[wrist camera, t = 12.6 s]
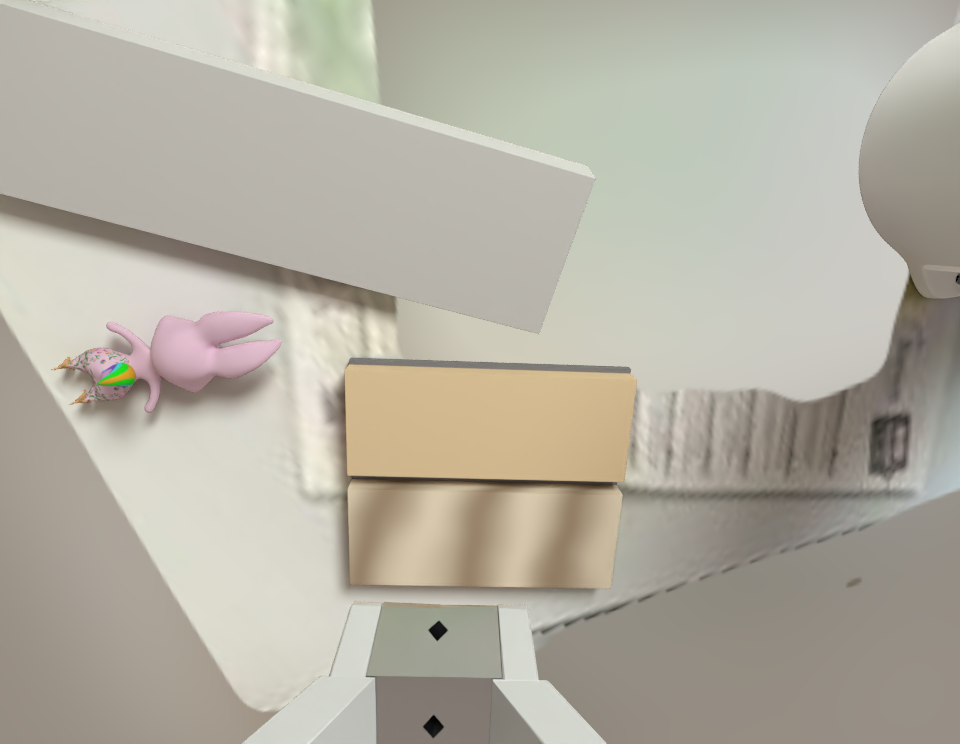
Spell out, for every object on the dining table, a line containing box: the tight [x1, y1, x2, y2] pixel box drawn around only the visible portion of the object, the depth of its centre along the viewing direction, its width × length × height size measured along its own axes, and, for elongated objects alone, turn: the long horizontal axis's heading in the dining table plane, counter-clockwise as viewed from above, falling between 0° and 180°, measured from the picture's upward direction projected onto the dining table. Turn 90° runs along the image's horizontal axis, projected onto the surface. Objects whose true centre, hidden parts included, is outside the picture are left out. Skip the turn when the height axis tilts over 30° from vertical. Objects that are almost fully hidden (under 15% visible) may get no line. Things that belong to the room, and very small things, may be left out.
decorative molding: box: [0, 0, 595, 334], centre depth 33 cm, size 34×5×10 cm
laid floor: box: [345, 358, 637, 485], centre depth 39 cm, size 19×17×2 cm
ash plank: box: [348, 479, 623, 589], centre depth 39 cm, size 19×8×2 cm, turn 88°
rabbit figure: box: [52, 311, 281, 413], centre depth 34 cm, size 6×6×15 cm
